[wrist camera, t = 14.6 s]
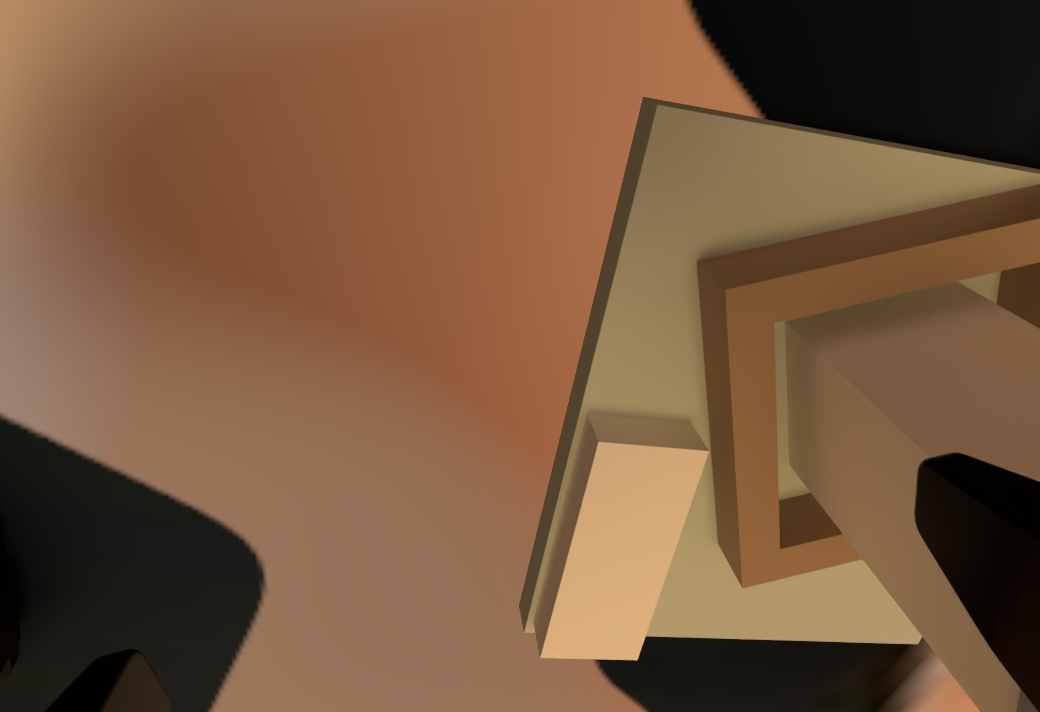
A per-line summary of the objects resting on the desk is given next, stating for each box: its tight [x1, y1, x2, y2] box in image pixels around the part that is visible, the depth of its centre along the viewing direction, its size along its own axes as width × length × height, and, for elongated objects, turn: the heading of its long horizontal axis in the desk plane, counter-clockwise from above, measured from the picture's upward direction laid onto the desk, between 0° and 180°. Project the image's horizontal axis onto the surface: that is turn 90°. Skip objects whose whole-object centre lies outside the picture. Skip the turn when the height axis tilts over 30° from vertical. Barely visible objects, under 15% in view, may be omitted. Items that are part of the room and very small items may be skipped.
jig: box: [519, 97, 1040, 644], centre depth 23 cm, size 15×17×3 cm
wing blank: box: [533, 413, 709, 660], centre depth 23 cm, size 3×8×2 cm, turn 170°
